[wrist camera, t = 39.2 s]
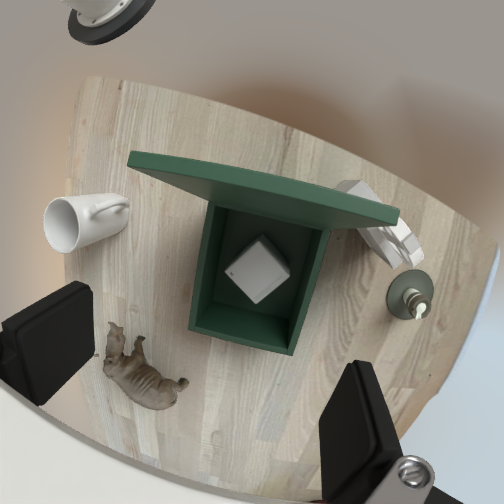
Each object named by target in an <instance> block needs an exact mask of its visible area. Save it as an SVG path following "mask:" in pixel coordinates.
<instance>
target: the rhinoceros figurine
mask: <svg viewBox="0 0 504 504" xmlns="http://www.w3.org/2000/svg"><path fill="white" fill-rule="evenodd" d="M108 323H109V324H110V326H111V329H110V331H109V334H108V335H107V339H108V340H107V346H106V359H105V360H104V367H103V371H104V373H105V374H106V375H107V377H108V378H109V379H110V378H111V379H112V380H114V381H115V382H116V383H117V384H118V385H119V386H120V388H121V389H122V390H123V391H124V392H125V393H126V395H127V396H129V398H130V399H131V400H133V401H134V402H136V403H137V404H139V405H141V406H143V407H145V408H148V409H152V410H164V409H167V408H169V407H171V406H173V405H174V404H175V403H176V401H177V392H176V391H179V392H181V391H182V390H183V389H185V388H186V387H187V386H188V384H189V381H188V380H187V379H185V378H181V379H180V381H178V382H179V384H178V383H176V382H175V381H173V380H171V379H167V378H164V377H163V376H161V374H160V373H159V372H158V371H157V370H156V369H155V368H153V367H152V366H150V365H149V364H148V363H147V361H146V359H145V356H144V353H143V349H142V345H141V342H142V341H143V340H144V339H146V338H145V337H143V336H140V335H139V336H138V337H137V338H138V339H137V340H136V341H135V343H134V346H135V349H134V350H133V351H132V353H131V354H132V355H131V356H125V355H124V353H123V349H124V343H125V336H124V335H123V327H118V326H116V324H115V323H113V322H108ZM139 338H140V339H139ZM94 356H95V357H97V356H99V355H98V354H95V355H94Z"/></svg>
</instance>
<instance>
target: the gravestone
mask: <svg viewBox="0 0 504 504" xmlns="http://www.w3.org/2000/svg"><path fill="white" fill-rule="evenodd" d="M334 190H337V191H341V192H345V193H348V194H352V195H355V196H359V197H362V198H366V199H369V200H373V201H376V202H379V203H382V202H381V200H380V199H379V198H378V197H377V195H376V194H375V193H374V192H373V191H372V190H371V189H370V188H369V186H368V185H367V184H366V183H365V182H364V181H363V180H344V181H343V182H342V183H341V184H339V185H338V186H337V187H336V188H335V189H334ZM382 204H383V203H382ZM356 229H357V230H358V232H359V233H360V234H361V236H362V237H363V239H364V240H365V241H366V243H367V244H368V245H369V247H370V248H371V249H372V250H373V251H374V252H375V253H376V254H377V255H378V256H379V257H380V258H382V259H383V260H384V261H385V262H386V263H387V264H388V265H389V266H390V267H391V268H392V269H393V270H394V269H395V268H396V267H397V266H399V265H400V264H401V263H402V262H403V261H404V262H405V263H406V264H407V265H408V266H409V267H411V268H413V267H415V266H416V265H417V264H418V263H419V262H420V261H421V260H423V259H424V255H423V252H422V249H421V244H420V243H419V241H418V239H417V238H416V236H415V234H414V233H412V232H411V231H410V229H409V228H408V227H407V225H406V224H405V223H404V222H403V220H402V219H401V218H400V217H399V218H398V223H397V226H389V227H368V228H356Z"/></svg>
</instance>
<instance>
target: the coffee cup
mask: <svg viewBox="0 0 504 504" xmlns="http://www.w3.org/2000/svg"><path fill="white" fill-rule="evenodd" d="M433 292H434V287H433V282H432V280H431V278H430V277H429V275H428V274H426V273H425V272H423V271H421V270H409V271H407V272H404V273H402V274H401V275H400V276H398V277H397V278H396V279H395V280H394V282H393V283H392V285H391V287H390V289H389V292H388V296H387V303H388V307H389V310H390V311H391V313H392V314H393V315H394V316H395V317H397V318H400V319H412V318H415V319H418V320H421V319H422V318H424V317H426V316H427V315H428V314H429V312H430V310H431V300H432V297H433Z"/></svg>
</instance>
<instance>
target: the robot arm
mask: <svg viewBox="0 0 504 504" xmlns="http://www.w3.org/2000/svg"><path fill="white" fill-rule="evenodd" d="M60 1H61V2H63V3H65V4H67V5H68V6H70V7H71V8H73V9H75V10H76V11H77V19H78V21H79V23H80V24H82V25H83V26H86V27H97V26H100V25H103V24H105V23H107V22H109V21H110V20H112V19H114V18H115V17H116V16H118V15H119V14H120V13H121V12H123V11H124V10H125V9H126V8H127V7H128V6H129V4H130V3H131V2H132V0H60ZM1 324H2V328H3V331H2V332H0V504H321V503H308V502H298V501H289V500H282V499H275V498H268V497H262V496H256V495H251V494H245V493H240V492H236V491H231V490H227V489H223V488H218V487H215V486H211V485H207V484H203V483H200V482H196V481H193V480H190V479H186V478H183V477H180V476H177V475H174V474H171V473H168V472H165V471H163V470H160V469H157V468H155V467H152V466H149V465H147V464H144V463H142V462H139V461H137V460H135V459H132V458H130V457H128V456H125V455H123V454H121V453H119V452H117V451H114V450H112V449H110V448H108V447H106V446H104V445H102V444H100V443H98V442H96V441H94V440H92V439H90V438H88V437H87V436H85V435H83V434H81V433H80V432H78V431H76V430H74V429H72V428H71V427H69V426H67V425H66V424H64V423H62V422H61V421H59V420H57V419H56V418H54V417H53V416H51V415H49V414H48V413H46V412H45V411H43V410H42V409H40V408H39V407H38V406H39V405H41V406H42V405H44V404H45V403H46V402H47V401H48V400H49V399H50V398H51V397H52V396H53V395H54V394H55V393H56V392H57V391H58V390H59V389H60V388H61V387H62V386H63V385H64V384H65V383H66V382H67V381H68V380H69V379H70V378H71V377H72V376H73V375H74V374H75V373H76V372H77V371H78V370H79V369H80V368H81V367H82V366H83V365H84V364H85V363H86V362H87V361H88V360H89V359H91V358H92V356H93V355H94V352H95V341H94V321H93V292H92V291H91V290H90V287H89V285H87V284H84V283H82V282H79V281H73V282H71V283H70V284H68V285H66V286H64V287H62V288H61V289H59V290H57V291H55V292H53V293H51V294H50V295H48V296H46V297H44V298H42V299H41V300H39V301H37V302H35V303H34V304H32V305H30V306H28V307H27V308H25V309H23V310H22V311H20V312H18V313H16V314H15V315H13V316H11V317H10V318H8V319H6V320H5V321H3V322H2V323H1ZM319 439H320V457H321V481H322V499H323V500H327V504H463V503H462V502H460V501H458V500H456V499H455V498H453V497H451V496H449V495H448V494H446V493H444V492H443V491H441V490H440V489H438V488H436V487H434V486H433V484H434V480H435V475H434V471H433V468H432V467H431V465H430V464H429V463H428V462H427V461H425V460H424V459H422V458H420V457H418V456H413V455H408V456H403V453H402V449H401V446H400V443H399V440H398V437H397V434H396V430H395V427H394V424H393V421H392V418H391V415H390V413H389V410H388V407H387V404H386V402H385V399H384V396H383V394H382V391H381V388H380V385H379V383H378V380H377V377H376V374H375V372H374V369H373V366H372V364H371V363H370V362H366V361H360V360H354V361H353V362H352V363H348V364H347V365H346V367H345V369H344V372H343V374H342V376H341V378H340V380H339V382H338V384H337V386H336V388H335V390H334V392H333V394H332V396H331V398H330V400H329V401H328V403H327V405H326V407H325V409H324V411H323V413H322V414H321V417H320V419H319Z"/></svg>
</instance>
